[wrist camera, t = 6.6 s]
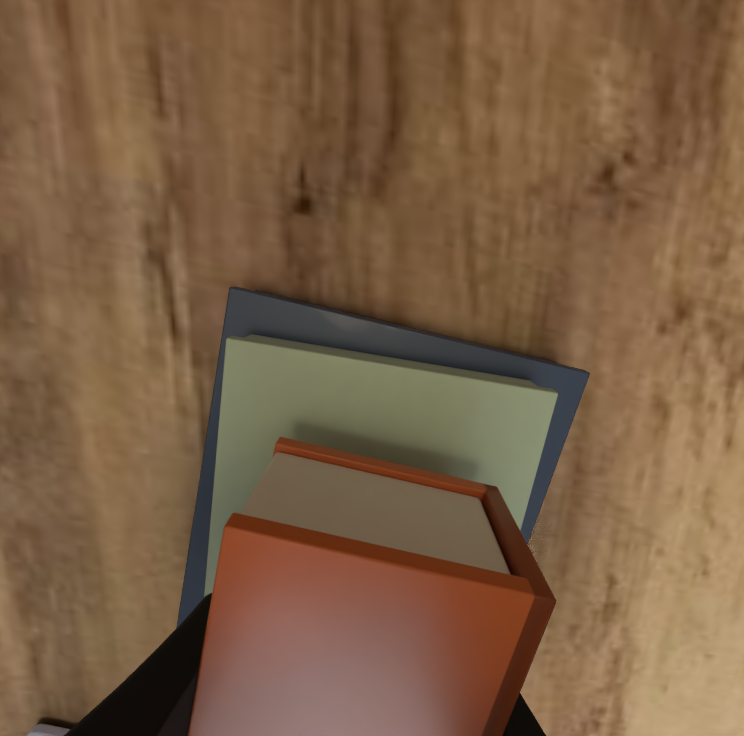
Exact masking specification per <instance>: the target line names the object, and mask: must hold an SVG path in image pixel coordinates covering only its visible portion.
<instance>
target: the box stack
mask: <svg viewBox="0 0 744 736" xmlns="http://www.w3.org/2000/svg"><path fill="white" fill-rule="evenodd" d="M589 375H590V373H589V372H587V371H585V370H582V369H578V368H574V367H569V366H565V365H561V364H558V363H556V362H554V361H549V360H545V359H541V358H537V357H533V356H528V355H524V354H520V353H516V352H512V351H508V350H503V349H499V348H495V347H491V346H487V345H483V344H478V343H474V342H470V341H466V340H462V339H458V338H453V337H449V336H445V335H441V334H437V333H433V332H428V331H424V330H420V329H416V328H412V327H408V326H403V325H399V324H395V323H391V322H387V321H382V320H378V319H374V318H370V317H366V316H362V315H357V314H353V313H349V312H345V311H341V310H337V309H332V308H328V307H324V306H320V305H316V304H312V303H307V302H303V301H299V300H295V299H291V298H287V297H282V296H278V295H274V294H270V293H266V292H261V291H257V290H256V291H252V290H248V289H244V288H240V287H230V288H229V294H228V301H227V307H226V314H225V320H224V327H223V333H222V339H221V346H220V352H219V359H218V365H217V371H216V378H215V384H214V391H213V397H212V403H211V410H210V416H209V423H208V429H207V435H206V442H205V448H204V455H203V461H202V467H201V474H200V480H199V487H198V493H197V500H196V506H195V512H194V519H193V525H192V532H191V538H190V544H189V551H188V557H187V564H186V570H185V576H184V583H183V589H182V596H181V602H180V608H179V615H178V621H177V628H178V626H179V625H180V624H181V623H182V622H183V621H184V620H185V619H186V618H187V617H188V616H189V614H190V613H191V612H192V611H193V610H194V609H195V608H196V606H197V605H198V604H199V603H200V602H201V601H202V599H203V598H204V597H205V596H206V595H208V594H210V593H212V592H213V586H214V580H215V575H216V569H217V563H218V558H219V552H220V546H221V541H222V535H223V529H224V526H225V524H226V523H227V521H228V519H229V518H230V516H231V515H232V513H239V514H240V513H241V511H242V510H243V508H244V506H245V504H246V503H247V501H248V499H249V498H250V496H251V494H252V492H253V491H254V489H255V487H256V486H257V484H258V482H259V480H260V479H261V477H262V475H263V474H264V472H265V470H266V469H267V467H268V465H269V463H270V462H271V460H272V458H273V453H274V448H275V443H276V442H277V440H278V439H279V437H284V438H289V439H293V440H297V441H302V442H306V443H310V444H315V445H319V446H323V447H328V448H332V449H336V450H341V451H345V452H349V453H354V454H358V455H362V456H367V457H371V458H375V459H379V460H384V461H388V462H392V463H397V464H401V465H405V466H410V467H414V468H418V469H423V470H427V471H431V472H436V473H440V474H444V475H449V476H453V477H457V478H462V479H466V480H470V481H475V482H479V483H483V484H488V485H492V486H496V487H498V489H499V491H500V493H501V495H502V497H503V499H504V501H505V503H506V504H507V506H508V508H509V510H510V512H511V514H512V516H513V518H514V520H515V522H516V524H517V526H518V528H519V530H520V532H521V533H522V535H523V537H524V539H525V541H526V543H527V544H528V541H529V538H530V536H531V533H532V530H533V527H534V525H535V522H536V519H537V517H538V514H539V511H540V508H541V506H542V503H543V500H544V497H545V495H546V492H547V489H548V487H549V484H550V481H551V478H552V476H553V473H554V470H555V467H556V465H557V462H558V459H559V457H560V454H561V451H562V448H563V446H564V443H565V440H566V437H567V435H568V432H569V429H570V427H571V424H572V421H573V418H574V416H575V413H576V410H577V408H578V405H579V402H580V399H581V397H582V394H583V391H584V388H585V386H586V383H587V380H588V378H589ZM177 628H176V629H177Z"/></svg>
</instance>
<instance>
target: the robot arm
mask: <svg viewBox="0 0 744 736" xmlns="http://www.w3.org/2000/svg"><path fill="white" fill-rule="evenodd" d="M211 598H212V593H210V594H208V595H206V596H205V597H204V598H203V599H202V601H201V602H200V603H199V604H198V605H197V606H196V608H195V609H194V610H193V611H192V612H191V613H190V614H189V616H188V617H187V618H186V619H185V620H184V621H183V622H182V623H181V624H180V625H179V626H178V628H177V629H176V630H175V631H174V632H173V633H172V634H171V635H170V636H169V637H168V638H167V639H166V640H165V641H164V642H163V643H162V644H161V645H160V646H159V647H158V648H157V649H156V650H155V651H154V652H153V653H152V654H151V655H150V656H149V657H148V658H147V659H146V660H145V661H144V662H143V663H142V664H141V665H140V666H139V667H138V668H137V669H136V670H135V671H134V672H133V673H132V674H131V675H130V676H129V677H128V678H127V679H126V680H125V681H124V682H123V683H122V684H121V685H119V686H118V687H117V688H116V689H115V690H114V691H113V692H112V693H111V694H110V695H109V696H107V697H106V698H105V699H104V700H103V701H102V702H101V703H100V704H99V705H97V706H96V707H95V708H94V709H93V710H92V711H91V712H90V713H89V714H88V715H86V716H85V717H84V718H83V719H82V720H81V721H80V722H79V723H78V724H76V725H75V726H74V727H73V728H72V729H67V728H62V727H57V726H52V725H48V724H37V725H35V726H34V727H32V729H31V730H30V731H29V733H28V734H27V735H26V736H187V734H188V729H189V723H190V717H191V712H192V706H193V700H194V694H195V689H196V683H197V677H198V672H199V666H200V660H201V655H202V649H203V643H204V637H205V632H206V626H207V620H208V615H209V609H210V603H211ZM503 736H546V735H545V733H544V732H543V730H542V728H541V727H540V725H539V724H538V722H537V720H536V719H535V717H534V715H533V714H532V712H531V710H530V709H529V707H528V705H527V704H526V702H525V700H524V699H523V697H522V695H521V694H520V693H519V696H518V698H517V701H516V703H515V706H514V708H513V711H512V713H511V716H510V718H509V721H508V723H507V726H506V728H505V731H504V733H503Z"/></svg>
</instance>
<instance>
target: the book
mask: <svg viewBox="0 0 744 736" xmlns="http://www.w3.org/2000/svg"><path fill="white" fill-rule="evenodd" d="M555 604H556V599H555V597H554V595H553V593H552V591H551V589H550V588H549V586H548V584H547V582H546V580H545V578H544V576H543V574H542V572H541V570H540V568H539V566H538V564H537V562H536V561H535V559H534V557H533V555H532V553H531V551H530V549H529V547H528V545H527V543H526V541H525V539H524V537H523V535H522V533H521V532H520V530H519V528H518V526H517V524H516V522H515V520H514V518H513V516H512V514H511V512H510V510H509V508H508V506H507V504H506V503H505V501H504V499H503V497H502V495H501V493H500V491H499V489H498V487H496V486H492V485H488V484H483V483H479V482H475V481H470V480H466V479H462V478H457V477H453V476H449V475H444V474H440V473H436V472H431V471H427V470H423V469H418V468H414V467H410V466H405V465H401V464H397V463H392V462H388V461H384V460H379V459H375V458H371V457H367V456H362V455H358V454H354V453H349V452H345V451H341V450H336V449H332V448H328V447H323V446H319V445H315V444H310V443H306V442H302V441H297V440H293V439H289V438H284V437H279V439H278V440H277V442H276V443H275V448H274V453H273V458H272V460H271V462H270V463H269V465H268V467H267V469H266V470H265V472H264V474H263V475H262V477H261V479H260V480H259V482H258V484H257V486H256V487H255V489H254V491H253V492H252V494H251V496H250V498H249V499H248V501H247V503H246V504H245V506H244V508H243V510H242V511H241V513H240V514H239V513H232V515H231V516H230V518H229V519H228V521H227V523H226V524H225V526H224V529H223V535H222V541H221V546H220V552H219V558H218V563H217V569H216V575H215V580H214V586H213V592H212V598H211V603H210V609H209V615H208V620H207V626H206V632H205V637H204V643H203V649H202V655H201V660H200V666H199V672H198V677H197V683H196V689H195V694H194V700H193V706H192V712H191V717H190V723H189V729H188V734H187V736H503V733H504V731H505V728H506V726H507V723H508V721H509V718H510V716H511V713H512V711H513V708H514V706H515V703H516V701H517V698H518V696H519V693H520V691H521V688H522V686H523V683H524V681H525V678H526V676H527V673H528V671H529V668H530V666H531V663H532V661H533V658H534V656H535V653H536V651H537V648H538V646H539V644H540V641H541V639H542V636H543V634H544V631H545V629H546V626H547V624H548V621H549V619H550V616H551V614H552V611H553V609H554V606H555Z"/></svg>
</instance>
